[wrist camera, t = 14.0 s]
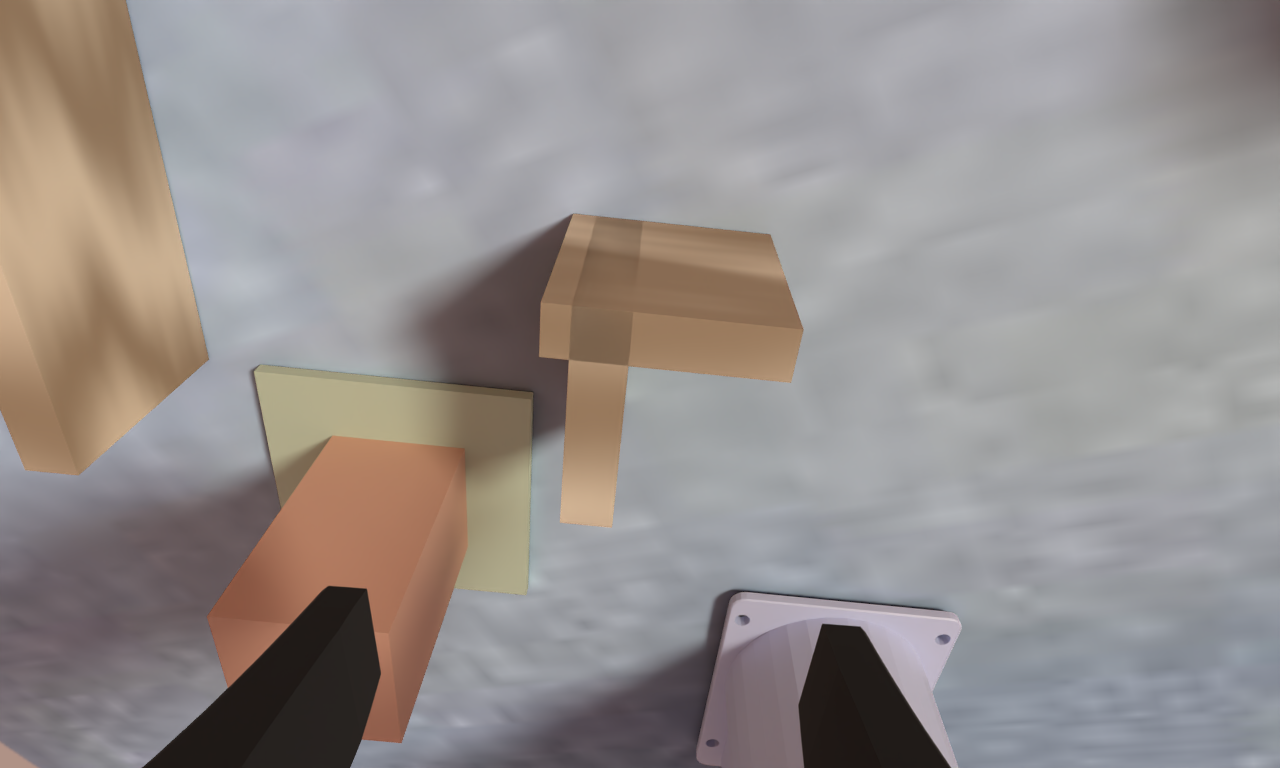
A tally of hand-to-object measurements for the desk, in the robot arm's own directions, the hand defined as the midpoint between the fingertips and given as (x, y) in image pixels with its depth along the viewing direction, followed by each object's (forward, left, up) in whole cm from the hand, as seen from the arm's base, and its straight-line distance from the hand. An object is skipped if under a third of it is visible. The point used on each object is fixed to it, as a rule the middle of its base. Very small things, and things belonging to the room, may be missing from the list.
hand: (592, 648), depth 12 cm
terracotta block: (-6, +7, -10) cm, 13 cm away
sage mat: (-6, +7, -10) cm, 14 cm away
